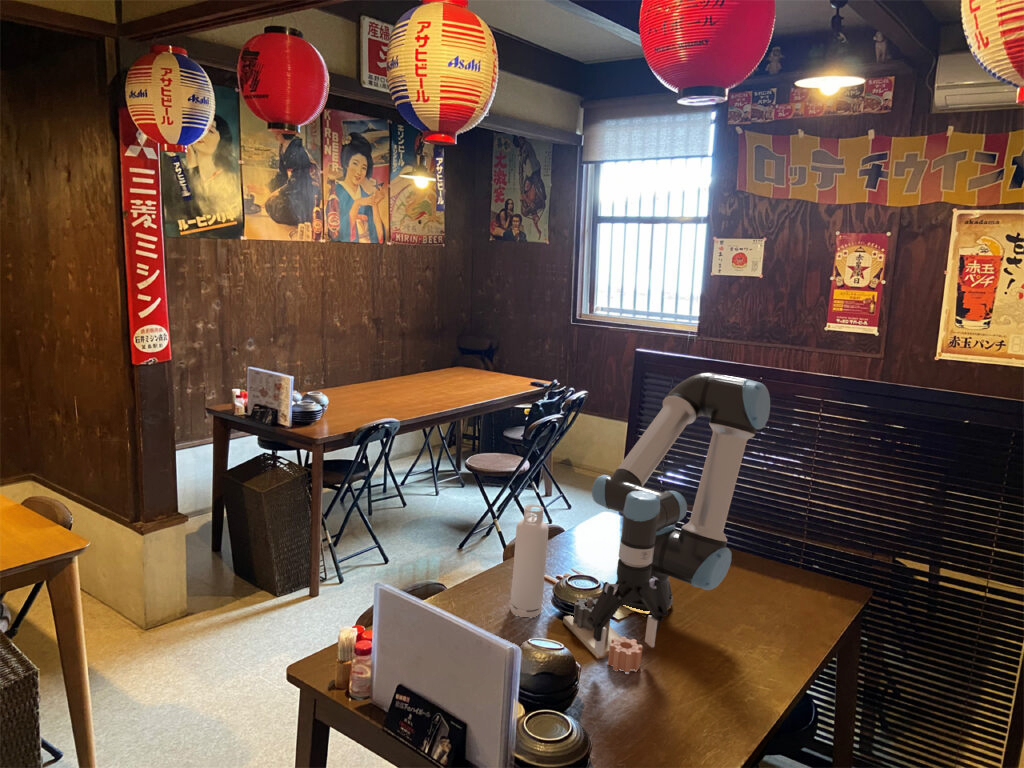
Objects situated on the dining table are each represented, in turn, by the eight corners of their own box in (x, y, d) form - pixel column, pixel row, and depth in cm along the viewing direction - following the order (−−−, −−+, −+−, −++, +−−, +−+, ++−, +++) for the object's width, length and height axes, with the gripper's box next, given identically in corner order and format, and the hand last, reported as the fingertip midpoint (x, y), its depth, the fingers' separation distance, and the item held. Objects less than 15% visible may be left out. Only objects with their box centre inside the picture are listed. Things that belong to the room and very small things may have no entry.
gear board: (594, 616, 189) (596, 588, 188) (630, 652, 174) (633, 621, 173) (563, 622, 186) (565, 592, 184) (597, 658, 170) (600, 627, 169)
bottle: (545, 606, 193) (554, 505, 187) (536, 621, 185) (544, 516, 180) (516, 599, 195) (523, 500, 190) (506, 613, 188) (513, 510, 182)
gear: (628, 654, 173) (630, 634, 172) (645, 670, 167) (648, 651, 166) (602, 659, 170) (604, 639, 169) (619, 676, 164) (621, 656, 163)
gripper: (595, 574, 155) (585, 666, 159) (691, 562, 165) (679, 648, 169) (578, 559, 162) (568, 647, 165) (671, 549, 172) (660, 632, 176)
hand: (624, 648), depth 167 cm, fingers open, 13 cm apart
